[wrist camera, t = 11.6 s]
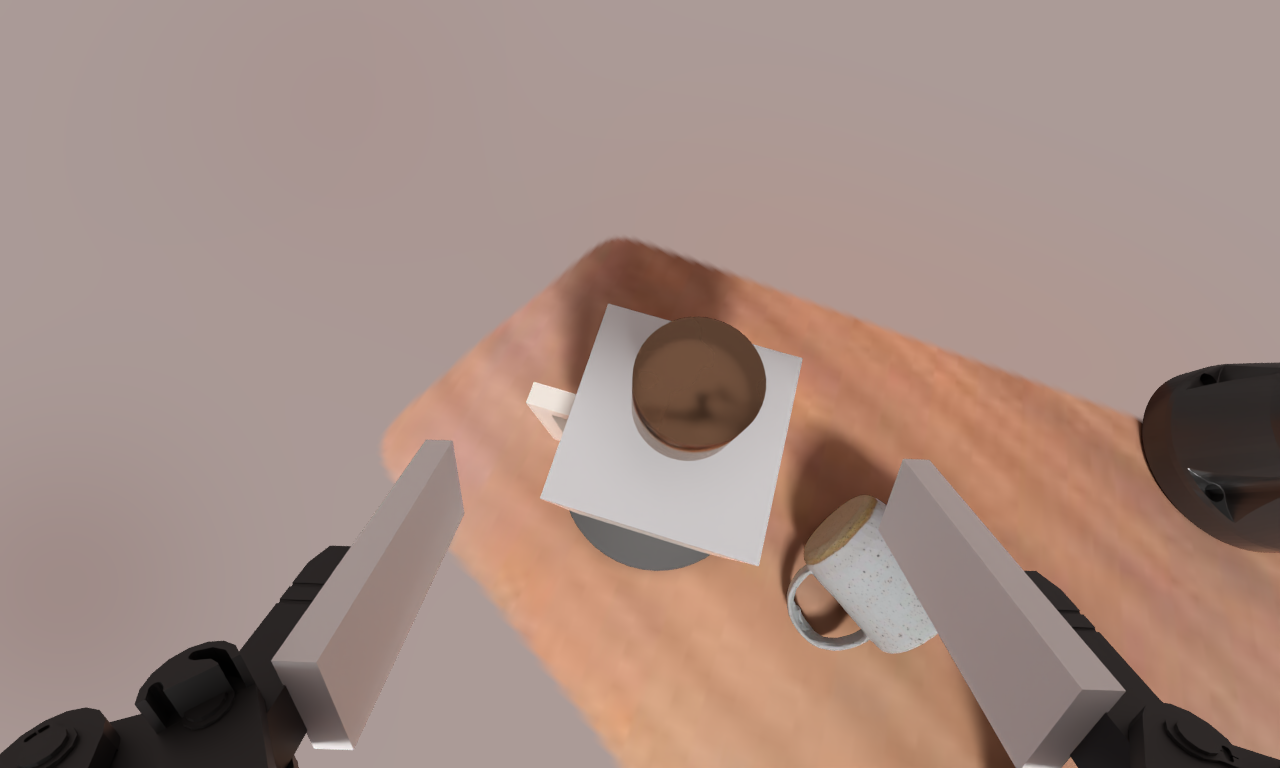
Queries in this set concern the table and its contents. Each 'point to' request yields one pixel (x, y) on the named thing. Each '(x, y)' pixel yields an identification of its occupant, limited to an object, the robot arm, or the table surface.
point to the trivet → (635, 546)
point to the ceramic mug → (861, 582)
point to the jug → (648, 481)
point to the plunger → (696, 387)
